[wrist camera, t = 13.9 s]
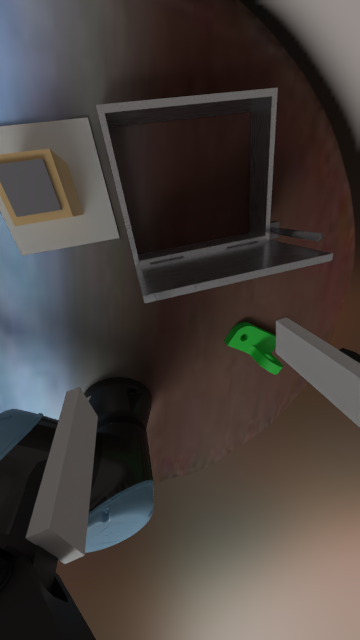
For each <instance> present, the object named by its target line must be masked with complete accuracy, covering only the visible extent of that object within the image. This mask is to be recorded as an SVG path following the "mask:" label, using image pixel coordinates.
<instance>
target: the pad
mask: <svg viewBox="0 0 360 640" xmlns="http://www.w3.org/2000/svg"><path fill="white" fill-rule="evenodd" d="M41 149H50V150H52V151H53V152H54V153H55V154H56V155H58V156H59V157H60V158H61V159H62V160H64V161H65V162H66V163H67V165H68V168H69V171H70V174H71V177H72V180H73V183H74V186H75V189H76V192H77V195H78V199H79V202H80V205H81V208H82V211H83V214H84V215H79V216H74V217H68V218H62V219H56V220H50V221H44V222H38V223H32V224H26V225H20V226H14V224H13V222H12V220H11V218H10V216H9V213H8V211H7V209H6V207H5V205H4V203H3V201H2V199H1V197H0V212H1V214H2V216H3V218H4V220H5V222H6V224H7V226H8V228H9V230H10V232H11V234H12V236H13V238H14V240H15V242H16V244H17V246H18V248H19V251H20V253H21V255H22V256H24V255H29V254H35V253H40V252H46V251H51V250H57V249H62V248H67V247H73V246H78V245H84V244H89V243H95V242H100V241H106V240H111V239H117V238H120V237H119V234H118V230H117V226H116V222H115V219H114V215H113V211H112V207H111V203H110V200H109V196H108V192H107V188H106V184H105V181H104V177H103V173H102V169H101V165H100V162H99V158H98V154H97V150H96V147H95V143H94V139H93V135H92V131H91V128H90V124H89V120H88V117H87V118H77V119H67V120H57V121H48V122H38V123H28V124H18V125H9V126H0V154H8V153H16V152H24V151H33V150H41Z"/></svg>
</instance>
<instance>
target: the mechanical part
mask: <svg viewBox="0 0 360 640" xmlns="http://www.w3.org/2000/svg"><path fill="white" fill-rule="evenodd" d="M242 335H243V336H242ZM224 341H225V343H226V344H227V345H228V346H231V347H233V348H236V349H239V350H241V351H244V352H246V353H248V354H250V355H251V356H252V357H253V358H254V359H255V361H256V362H257V363H258V364H259V365H260V366H262V367H263V368H264V369H266V370H267V371H269V372H270V373H273V374H278V372H279V371H280V370H281V369H282V367H283V365H282V364H281V362H280V361H278V360H277V359H276V358H275V357H274V356H273V355H272V354H271V353H272V351H273V350H274V349H275V348H276V335H274V334H272V333H270V332H268V331H265V330H263V329H261V328H259V327H257V326H255V325H252V324H250V323H248V322H242V323H239V324H237V325H236V326H234V327H233V328H232V330H231V331H230V333H229V334H228V336H227V337H226V339H225V340H224Z"/></svg>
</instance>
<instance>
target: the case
mask: <svg viewBox="0 0 360 640" xmlns="http://www.w3.org/2000/svg"><path fill="white" fill-rule="evenodd" d="M277 93H278V88H269V89H258V90H248V91H237V92H226V93H216V94H205V95H195V96H184V97H174V98H163V99H152V100H142V101H131V102H121V103H110V104H100V105H96V108H97V112H98V116H99V120H100V125H101V129H102V133H103V137H104V141H105V145H106V149H107V153H108V157H109V161H110V165H111V169H112V173H113V178H114V182H115V186H116V190H117V194H118V198H119V202H120V206H121V210H122V214H123V218H124V222H125V226H126V231H127V235H128V239H129V243H130V247H131V251H132V255H133V259H134V263H135V267H136V271H137V275H138V279H139V283H140V287H141V291H142V295H143V299H144V303H149V302H153V301H157V300H162V299H166V298H171V297H175V296H179V295H184V294H188V293H192V292H197V291H201V290H205V289H210V288H214V287H219V286H223V285H227V284H232V283H236V282H240V281H245V280H249V279H253V278H258V277H262V276H267V275H271V274H275V273H280V272H284V271H288V270H293V269H297V268H301V267H306V266H310V265H315V264H319V263H323V262H328V261H332V257H333V253H329V252H325V251H320V250H315V249H311V248H306V247H301V246H297V245H292V244H287V243H283V242H278V241H273V240H270V239H274V238H278V235H284V236H290V237H296V238H302V239H307V240H313V241H321V240H322V239H323V234H322V233H314V232H306V231H298V230H290V229H283V228H279V221H270V216H271V198H272V181H273V163H274V146H275V128H276V110H277ZM246 112H251V123H250V197H249V233H244V234H239V235H234V236H229V237H224V238H219V239H214V240H209V241H203V242H198V243H193V244H188V245H183V246H178V247H173V248H168V249H163V250H157V251H152V252H147V253H142V254H137V250H136V246H135V241H134V237H133V233H132V229H131V224H130V220H129V216H128V211H127V207H126V203H125V199H124V194H123V190H122V186H121V181H120V177H119V173H118V169H117V164H116V160H115V156H114V152H113V147H112V143H111V139H110V134H109V130H108V128H110V127H119V126H128V125H137V124H146V123H155V122H164V121H173V120H182V119H192V118H201V117H210V116H219V115H228V114H237V113H246Z"/></svg>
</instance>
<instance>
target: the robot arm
mask: <svg viewBox="0 0 360 640" xmlns="http://www.w3.org/2000/svg"><path fill="white" fill-rule="evenodd" d="M276 353H277V354H278V355H279V356H280V357H281V358H282V359H283V360H284V361H286V362H287V363H288V364H289V365H290V366H291V367H292V368H293V369H295V370H296V371H297V372H298V373H299V374H300V375H301V376H302V377H304V378H305V379H306V380H307V381H308V382H309V383H310V384H311V385H313V386H314V387H315V388H316V389H317V390H318V391H319V392H320V393H322V394H323V395H324V396H325V397H326V398H327V399H328V400H329V401H331V402H332V403H333V404H334V405H335V406H336V407H337V408H339V409H340V410H341V411H342V412H343V413H344V414H345V415H346V416H348V417H349V418H350V419H351V420H352V421H353V422H354V423H355V424H357V425H358V426H359V427H360V355H359V354H357V353H356V352H353V351H350V350H347V349H344V348H342V349H340V350H338V349H336V348H334V347H333V346H331V345H330V344H328V343H326V342H325V341H323V340H322V339H320V338H318V337H317V336H315V335H314V334H312V333H310V332H309V331H307V330H305V329H304V328H302V327H301V326H299V325H297V324H296V323H294V322H293V321H291V320H289V319H288V318H283V319H280V320H277V321H276ZM150 411H151V398H150V394H149V391H148V389H147V388H146V387H145V386H144V385H143V384H142V383H140V382H138V381H136V380H133V379H130V378H122V377H118V378H110V379H106V380H103V381H100V382H98V383H96V384H94V385H93V386H91V387H90V388H89V389H88V390H87V391H86V392H85V393H83V392H82V390H81V388H80V387H79V388H76V389H73V390H70V391H67V393H66V396H65V400H64V403H63V407H62V411H61V414H60V418H59V420H56V419H52V418H49V417H46V416H43V414H42V413H39V414H36V413H31V412H27V411H23V410H19V409H10V410H6V411H4V412H2V413H0V640H96V639H95V637H94V635H93V634H92V632H91V630H90V628H89V627H88V625H87V623H86V621H85V620H84V618H83V616H82V615H81V613H80V611H79V609H78V608H77V606H76V604H75V603H74V601H73V599H72V597H71V596H70V594H69V592H68V591H67V589H66V587H65V585H64V584H63V582H62V580H61V578H60V577H59V575H58V574H57V573H56V567H57V561H58V560H60V561H61V562H63V563H64V564H66V563H68V562H70V561H73V560H75V559H77V558H80V557H82V556H84V555H85V553H86V552H92V551H97V550H100V549H103V548H107V547H109V546H112V545H114V544H117V543H119V542H121V541H123V540H125V539H127V538H128V537H130V536H132V535H133V534H135V533H136V532H137V531H138V530H140V529H141V528H142V527H143V526H144V525H145V524H146V523H147V522H148V521H149V519H150V518H151V516H152V513H153V509H154V496H153V495H154V494H153V486H154V483H153V482H154V481H153V477H152V469H151V462H150V454H149V447H148V439H147V432H146V427H147V423H148V419H149V415H150Z"/></svg>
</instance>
